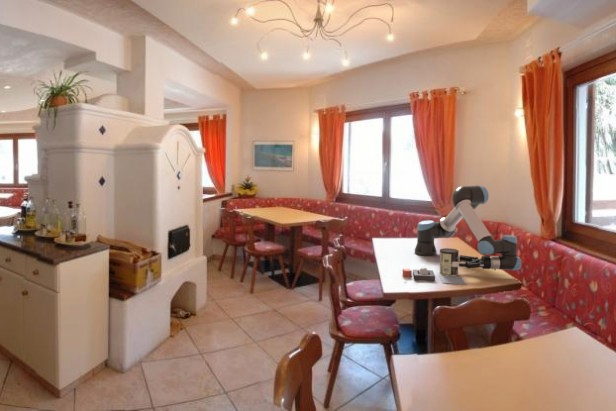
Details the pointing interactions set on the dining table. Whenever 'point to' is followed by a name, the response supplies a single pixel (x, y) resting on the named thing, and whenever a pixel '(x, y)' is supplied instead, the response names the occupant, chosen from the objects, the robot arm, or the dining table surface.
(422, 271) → the dome
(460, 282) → the square pad
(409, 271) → the die
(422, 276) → the popper frame
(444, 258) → the coffee can
